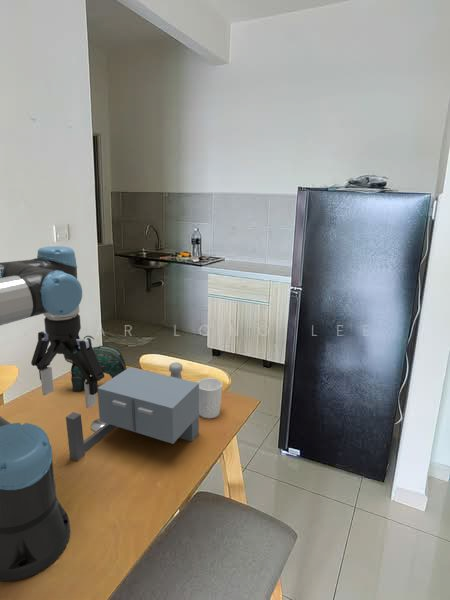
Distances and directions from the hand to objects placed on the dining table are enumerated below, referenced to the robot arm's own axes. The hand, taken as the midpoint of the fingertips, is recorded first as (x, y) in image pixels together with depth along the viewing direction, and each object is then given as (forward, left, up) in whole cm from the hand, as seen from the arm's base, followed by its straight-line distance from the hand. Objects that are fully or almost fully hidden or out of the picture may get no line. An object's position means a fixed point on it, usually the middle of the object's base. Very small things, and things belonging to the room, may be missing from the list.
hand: (69, 399), depth 91 cm
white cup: (+34, -21, -18) cm, 44 cm away
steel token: (+15, +4, -18) cm, 23 cm away
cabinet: (+16, -12, -18) cm, 27 cm away
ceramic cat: (+31, +20, -18) cm, 41 cm away
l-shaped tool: (+9, +1, -18) cm, 20 cm away
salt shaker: (+36, -8, -18) cm, 41 cm away
